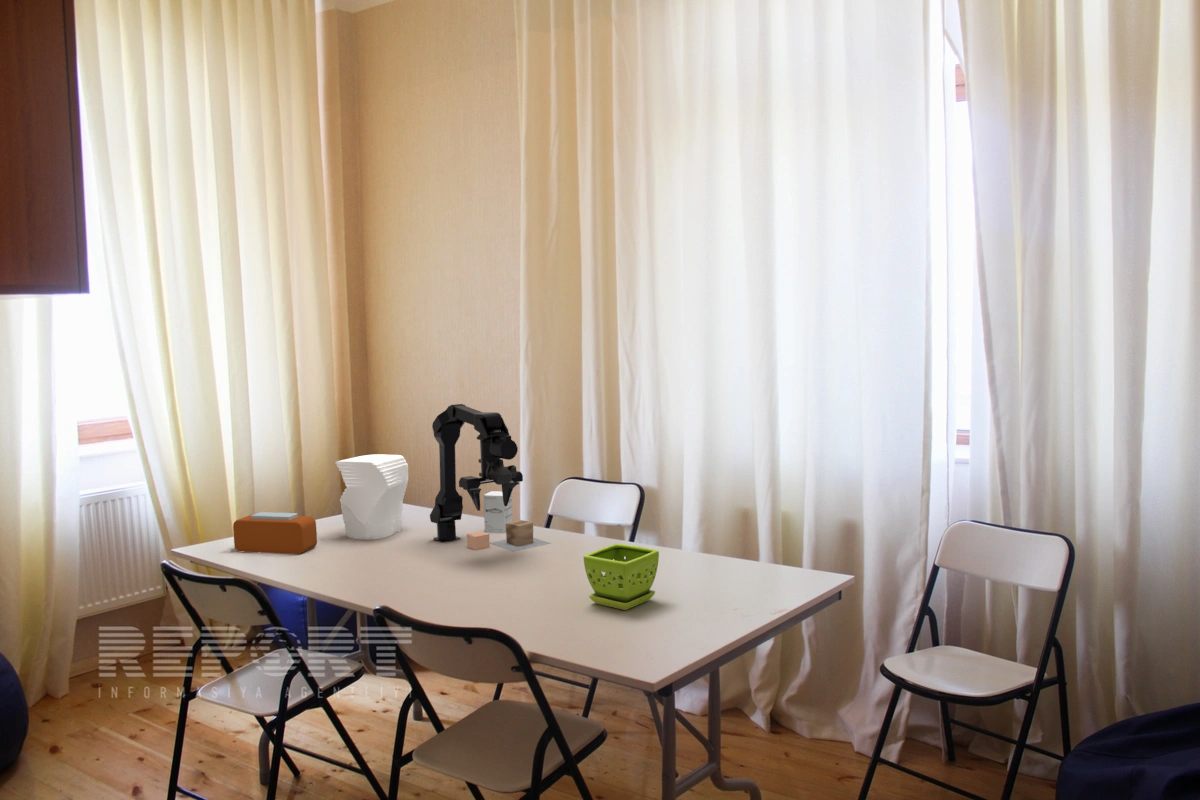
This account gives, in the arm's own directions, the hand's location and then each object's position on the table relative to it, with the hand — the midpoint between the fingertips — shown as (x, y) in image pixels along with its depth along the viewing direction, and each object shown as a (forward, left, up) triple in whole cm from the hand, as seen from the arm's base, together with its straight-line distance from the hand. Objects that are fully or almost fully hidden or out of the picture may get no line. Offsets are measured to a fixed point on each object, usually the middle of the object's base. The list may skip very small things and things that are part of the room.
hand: (492, 508), depth 273 cm
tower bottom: (-7, +14, -14) cm, 21 cm away
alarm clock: (-55, -45, -15) cm, 73 cm away
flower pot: (+59, 0, -15) cm, 61 cm away
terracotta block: (-12, +2, -15) cm, 19 cm away
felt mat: (-7, +14, -14) cm, 21 cm away
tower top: (-7, +14, -11) cm, 19 cm away
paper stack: (-51, -11, -15) cm, 54 cm away
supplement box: (-27, +19, -15) cm, 36 cm away
